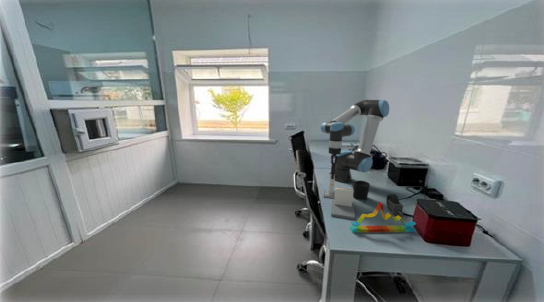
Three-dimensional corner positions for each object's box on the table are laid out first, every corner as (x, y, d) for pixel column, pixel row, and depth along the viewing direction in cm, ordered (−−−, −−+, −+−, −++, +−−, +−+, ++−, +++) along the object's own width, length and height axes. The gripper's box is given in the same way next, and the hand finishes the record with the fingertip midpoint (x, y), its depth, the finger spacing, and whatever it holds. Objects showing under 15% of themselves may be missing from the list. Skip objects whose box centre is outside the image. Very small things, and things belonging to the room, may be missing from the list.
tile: (333, 203, 124) (335, 187, 122) (351, 205, 121) (353, 189, 119) (333, 204, 123) (335, 188, 121) (351, 206, 120) (353, 190, 118)
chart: (410, 228, 103) (415, 200, 100) (414, 232, 100) (420, 204, 97) (349, 229, 102) (352, 201, 99) (352, 233, 99) (355, 204, 96)
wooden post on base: (325, 190, 143) (327, 166, 139) (337, 192, 141) (339, 167, 137) (324, 195, 136) (326, 170, 132) (337, 197, 134) (339, 171, 129)
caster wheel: (383, 206, 126) (396, 218, 111) (384, 191, 124) (397, 200, 109) (392, 207, 125) (407, 218, 110) (394, 191, 124) (409, 201, 109)
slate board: (332, 202, 128) (332, 200, 128) (352, 205, 125) (353, 203, 124) (331, 215, 113) (331, 213, 113) (354, 219, 110) (355, 217, 109)
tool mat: (324, 190, 145) (324, 189, 145) (338, 192, 142) (338, 191, 142) (323, 197, 135) (323, 196, 135) (338, 199, 132) (338, 198, 132)
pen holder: (369, 201, 130) (371, 186, 127) (353, 200, 132) (355, 185, 129) (365, 195, 139) (367, 181, 136) (351, 193, 141) (352, 179, 138)
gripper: (329, 144, 140) (326, 177, 145) (328, 149, 124) (325, 186, 130) (341, 144, 137) (338, 178, 143) (341, 150, 122) (338, 187, 127)
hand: (332, 182), depth 136 cm, fingers open, 4 cm apart
